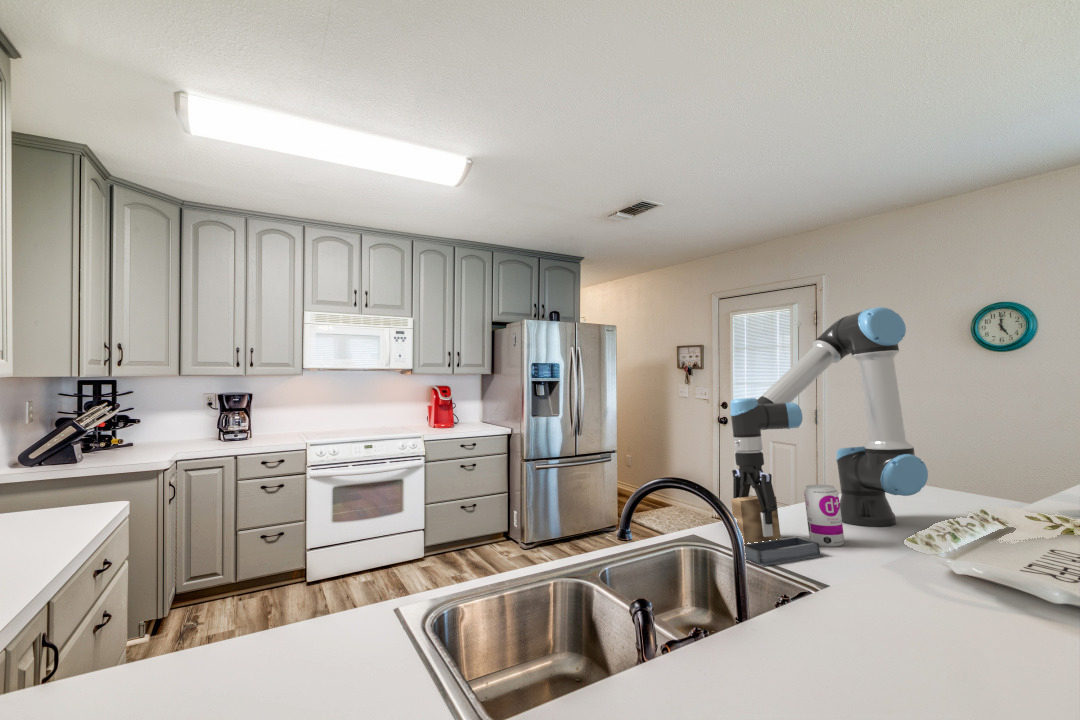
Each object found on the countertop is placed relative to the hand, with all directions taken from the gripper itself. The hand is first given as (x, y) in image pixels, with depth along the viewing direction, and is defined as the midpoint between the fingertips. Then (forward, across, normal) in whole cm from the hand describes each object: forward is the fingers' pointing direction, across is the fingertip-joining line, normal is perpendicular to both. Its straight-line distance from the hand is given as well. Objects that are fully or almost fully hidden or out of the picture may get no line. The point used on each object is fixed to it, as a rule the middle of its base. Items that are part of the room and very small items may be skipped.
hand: (757, 532), depth 135 cm
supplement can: (+2, +10, +14) cm, 17 cm away
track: (+2, +14, -5) cm, 15 cm away
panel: (+2, 0, 0) cm, 2 cm away
